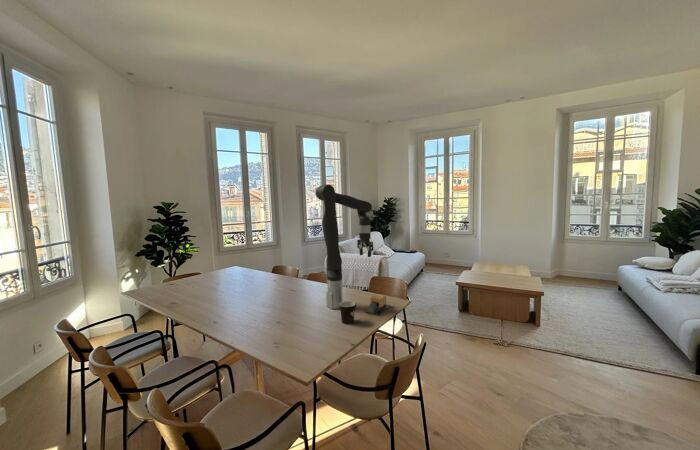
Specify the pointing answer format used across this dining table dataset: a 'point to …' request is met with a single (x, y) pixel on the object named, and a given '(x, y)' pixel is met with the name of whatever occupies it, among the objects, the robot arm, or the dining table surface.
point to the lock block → (378, 299)
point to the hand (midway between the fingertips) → (365, 256)
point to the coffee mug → (347, 312)
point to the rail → (377, 308)
